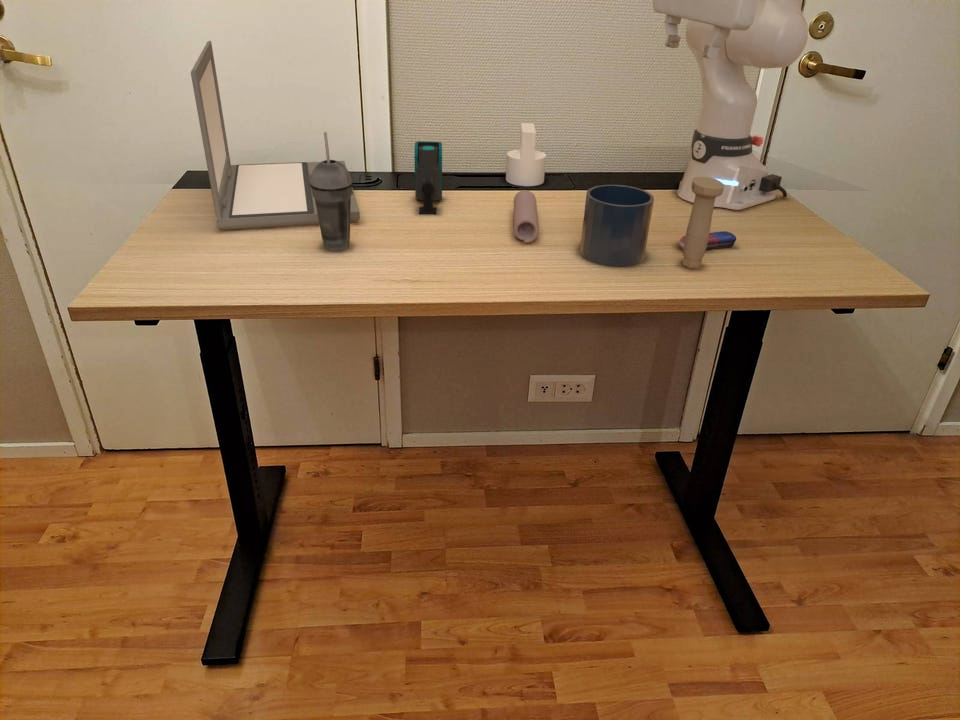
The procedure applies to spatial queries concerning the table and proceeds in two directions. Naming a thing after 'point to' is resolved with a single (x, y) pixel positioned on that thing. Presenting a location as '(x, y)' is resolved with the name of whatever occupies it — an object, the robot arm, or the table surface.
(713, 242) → the eraser
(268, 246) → the table surface
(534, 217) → the coil
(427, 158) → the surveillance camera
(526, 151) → the cylinder with rectangular tab
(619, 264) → the open cylindrical bucket
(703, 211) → the handle
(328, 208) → the beverage cup
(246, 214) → the laptop
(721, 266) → the table surface
